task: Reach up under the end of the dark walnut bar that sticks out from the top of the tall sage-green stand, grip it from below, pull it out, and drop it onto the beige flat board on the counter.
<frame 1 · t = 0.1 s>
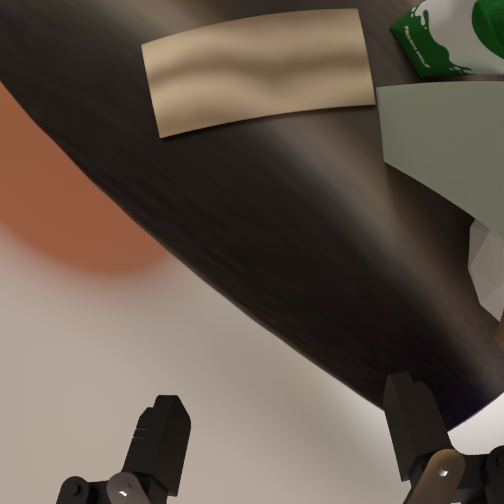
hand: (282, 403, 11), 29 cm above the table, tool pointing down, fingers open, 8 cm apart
beige flat board: (257, 65, 31), on the table
milk carton: (424, 42, 28), on the table
sage stand: (427, 122, 32), on the table
ball: (493, 226, 37), on the table
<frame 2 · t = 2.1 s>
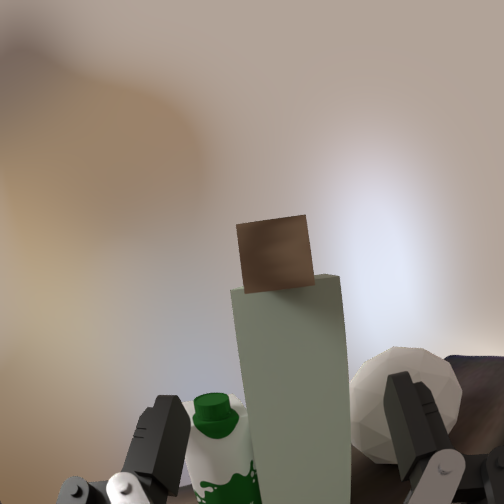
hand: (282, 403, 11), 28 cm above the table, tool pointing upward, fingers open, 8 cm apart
walnut bar: (285, 282, 28), point 32 cm above the table, touching sage stand
ball: (399, 453, 40), on the table
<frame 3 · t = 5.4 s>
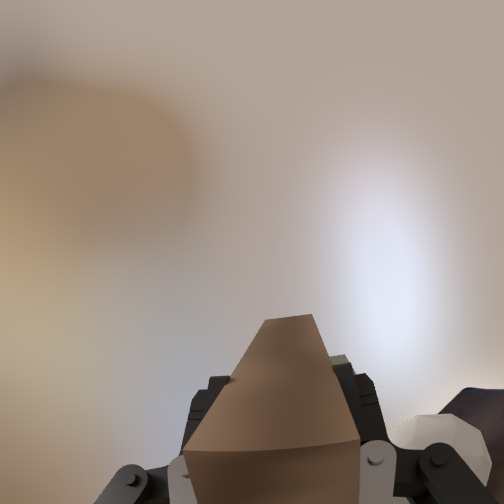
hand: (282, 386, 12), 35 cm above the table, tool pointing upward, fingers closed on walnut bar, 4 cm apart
walnut bar: (292, 411, 16), point 32 cm above the table, touching gripper, sage stand
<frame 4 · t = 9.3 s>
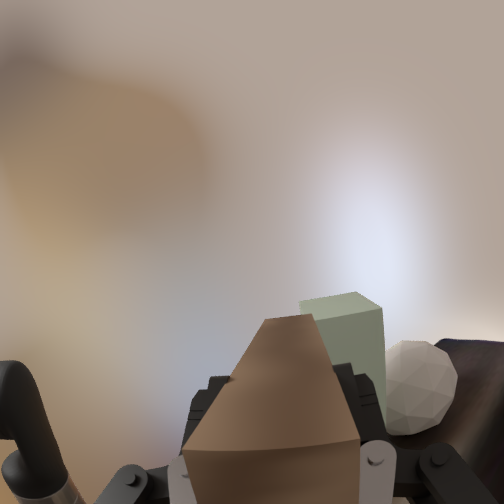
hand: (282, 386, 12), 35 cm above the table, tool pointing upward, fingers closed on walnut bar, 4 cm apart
sage stand: (347, 480, 41), on the table
walnut bar: (292, 411, 16), point 32 cm above the table, tilted 5°, touching gripper
ball: (408, 426, 52), on the table
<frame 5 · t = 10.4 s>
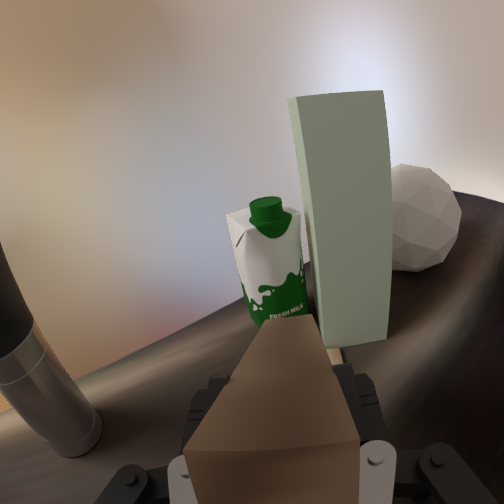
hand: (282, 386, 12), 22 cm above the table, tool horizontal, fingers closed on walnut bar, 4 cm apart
milk carton: (279, 321, 50), on the table
sage stand: (347, 316, 47), on the table
walnut bar: (292, 411, 16), point 16 cm above the table, tilted 30°, touching gripper
ball: (408, 264, 56), on the table
when the fingers open (7 cm above the table, at t = 13.4 s): walnut bar drops 3 cm, resting on beige flat board.
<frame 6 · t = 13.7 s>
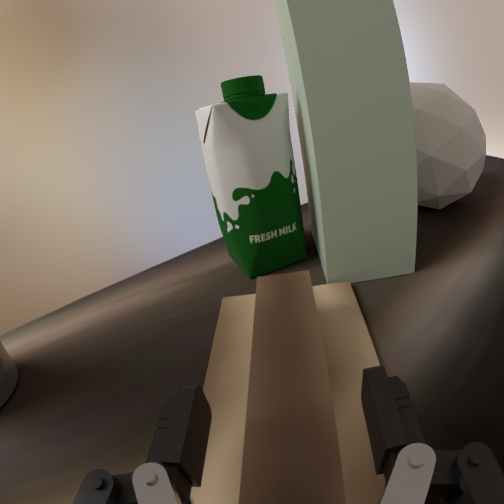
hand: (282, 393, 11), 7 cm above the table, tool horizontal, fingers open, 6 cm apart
beige flat board: (293, 403, 18), on the table
milk carton: (266, 258, 38), on the table
sage stand: (357, 250, 35), on the table
walnut bar: (295, 420, 17), point 1 cm above the table, touching beige flat board
ball: (428, 203, 44), on the table
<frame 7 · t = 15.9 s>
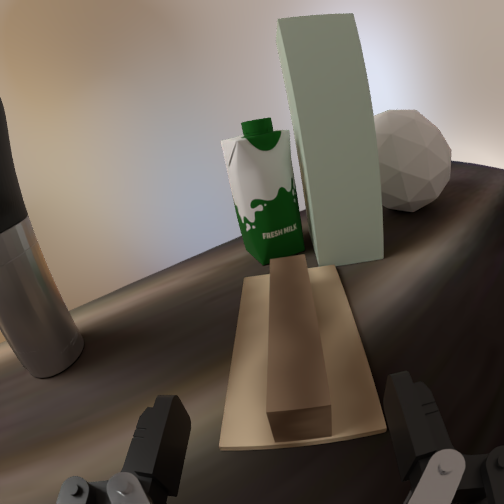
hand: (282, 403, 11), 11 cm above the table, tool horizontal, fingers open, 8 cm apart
beige flat board: (295, 337, 30), on the table
milk carton: (274, 251, 50), on the table
sage stand: (342, 244, 47), on the table
walnut bar: (297, 344, 29), point 1 cm above the table, touching beige flat board
ball: (404, 207, 56), on the table
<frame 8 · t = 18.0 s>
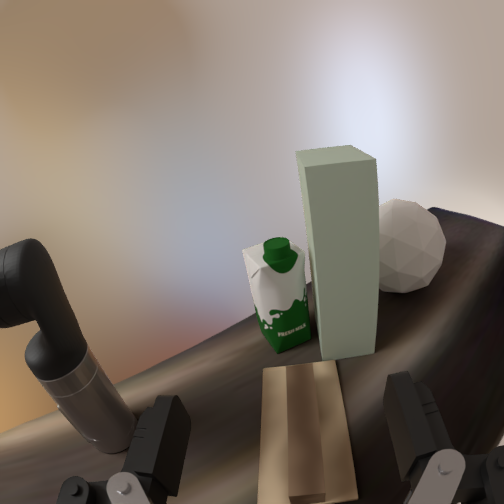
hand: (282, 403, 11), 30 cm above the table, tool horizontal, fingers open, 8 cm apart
beige flat board: (303, 428, 39), on the table
milk carton: (285, 336, 58), on the table
sage stand: (342, 333, 56), on the table
walnut bar: (304, 436, 37), point 1 cm above the table, touching beige flat board
ball: (398, 285, 65), on the table
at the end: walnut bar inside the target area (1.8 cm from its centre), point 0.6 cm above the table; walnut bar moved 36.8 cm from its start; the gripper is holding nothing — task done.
